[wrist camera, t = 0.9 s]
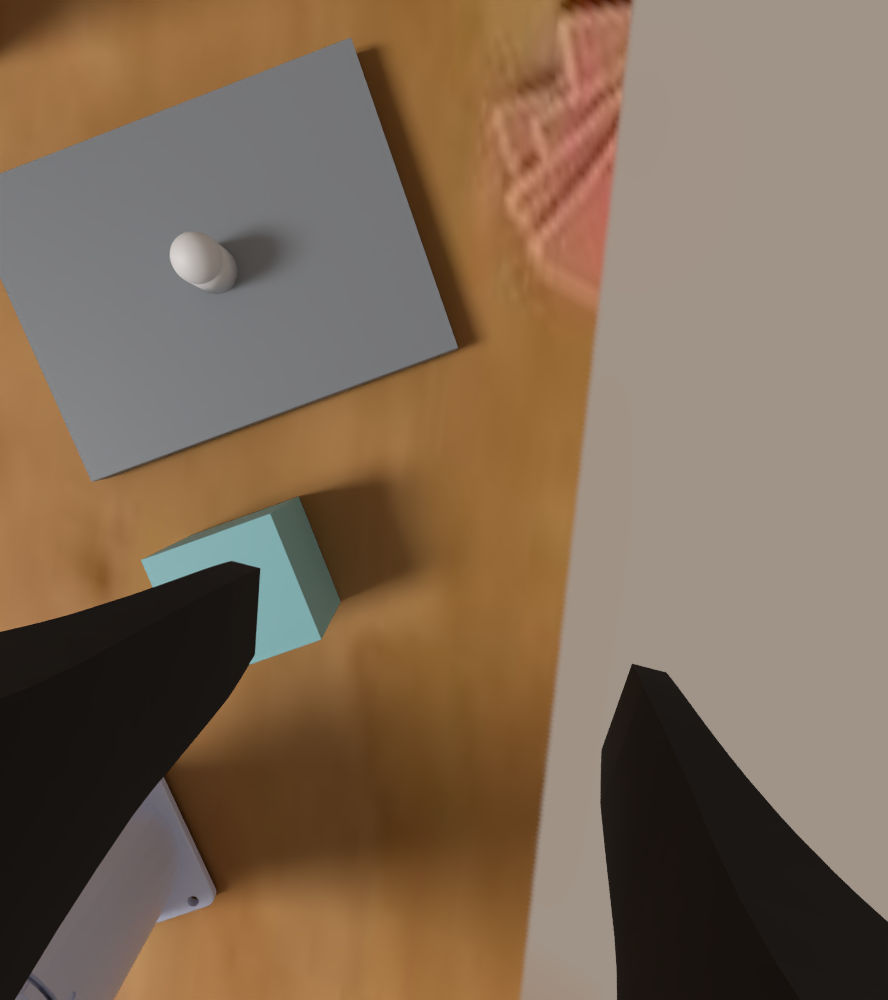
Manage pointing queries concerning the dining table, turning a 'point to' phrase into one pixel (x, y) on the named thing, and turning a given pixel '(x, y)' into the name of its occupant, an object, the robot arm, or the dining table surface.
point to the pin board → (272, 219)
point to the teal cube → (264, 572)
